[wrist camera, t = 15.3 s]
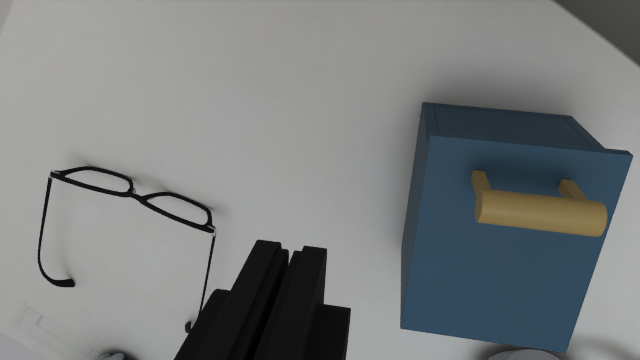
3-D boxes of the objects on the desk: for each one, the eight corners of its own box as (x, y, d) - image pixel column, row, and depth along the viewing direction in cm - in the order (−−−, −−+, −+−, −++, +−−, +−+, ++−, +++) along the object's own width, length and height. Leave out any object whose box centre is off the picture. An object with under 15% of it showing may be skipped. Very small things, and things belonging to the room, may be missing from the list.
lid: (429, 130, 29) (434, 167, 24) (628, 150, 28) (679, 194, 23) (400, 321, 35) (399, 383, 30) (562, 345, 34) (591, 415, 29)
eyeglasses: (235, 209, 45) (220, 230, 42) (203, 331, 52) (188, 359, 49) (67, 150, 46) (39, 166, 42) (57, 280, 53) (32, 303, 49)
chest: (422, 102, 39) (427, 144, 30) (571, 115, 37) (623, 164, 28) (401, 248, 44) (400, 321, 36) (530, 265, 43) (562, 344, 34)
